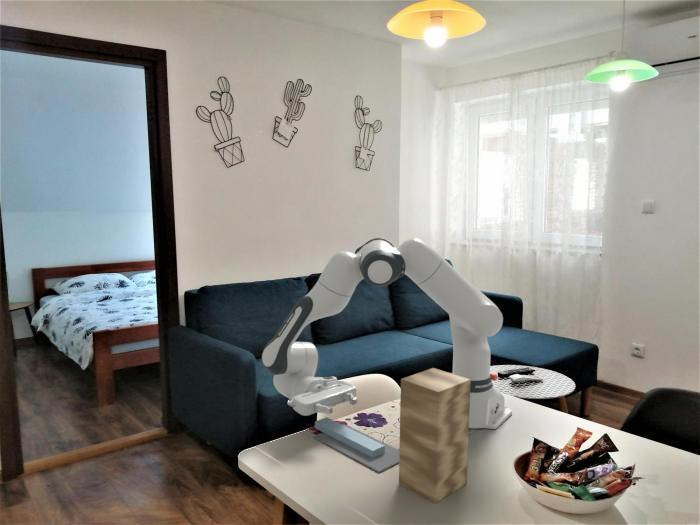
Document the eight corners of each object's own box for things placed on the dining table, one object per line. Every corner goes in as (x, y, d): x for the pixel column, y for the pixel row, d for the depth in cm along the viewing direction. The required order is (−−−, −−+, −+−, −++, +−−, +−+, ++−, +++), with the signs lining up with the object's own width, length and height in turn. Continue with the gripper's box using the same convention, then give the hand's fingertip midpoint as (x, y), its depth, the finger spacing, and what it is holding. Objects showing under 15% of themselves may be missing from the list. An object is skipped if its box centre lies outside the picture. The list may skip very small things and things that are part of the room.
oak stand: (430, 466, 137) (433, 367, 134) (466, 483, 129) (470, 379, 126) (398, 483, 129) (400, 378, 126) (435, 503, 121) (438, 392, 118)
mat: (344, 425, 161) (344, 424, 161) (411, 457, 142) (411, 455, 142) (313, 437, 153) (313, 436, 153) (379, 473, 134) (379, 471, 134)
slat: (326, 423, 161) (326, 417, 161) (384, 452, 143) (384, 445, 143) (315, 428, 158) (315, 421, 158) (372, 458, 140) (372, 450, 140)
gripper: (283, 391, 154) (314, 405, 144) (337, 374, 168) (369, 386, 158) (284, 412, 155) (314, 427, 145) (337, 394, 168) (368, 407, 158)
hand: (343, 406), depth 151 cm, fingers open, 8 cm apart
